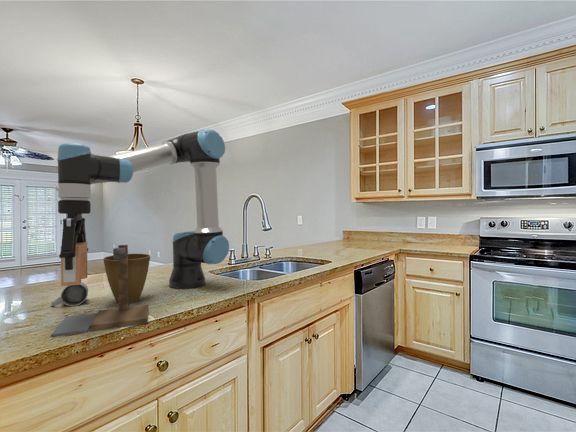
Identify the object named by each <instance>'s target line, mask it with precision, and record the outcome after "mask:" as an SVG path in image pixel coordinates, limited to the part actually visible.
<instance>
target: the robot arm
mask: <svg viewBox="0 0 576 432" xmlns="http://www.w3.org/2000/svg"><path fill="white" fill-rule="evenodd" d="M225 145H226V144H225V142H224V140H223V137H222V136H221V135H220V133H218V132H217V131H216V130H213V129H210V128H208V129H200V130H198V131H194V132H193V131H192V132H189V133H184V134H181V135H179V136H177V137H173V138H171V139H167V140H164V141H161V143H160V144H157V145H153V146H148V147H143V148H139V149H135V150H130V151H126V152H122V153H117V154H112V155H109V156H105V155H100V154H99V155H98V154H93V153H92V151H91V147H90V146H88V145H85V144H81V143H75V142H66V143H65V142H64V143H61V144H60V145H59V146H58V151H57V159H56V160H57V179H58V180H57V182H58V183H57V185H58V186H57V187H55V190H56V191H58V192H57V193H58V195H57V197H58V198H59V199H61V200H58V201H57V213H58V214H63V215H66V218H62V236H61V238H62V239H61V246H60V253H59V254H58V257H59V259H61V258H63V283H64V282H76V257H75V246H76V243H83V242H87V236H86V235H87V234H86V217H83V215H82V214H91V202H90V199H91V198H92V194H91V192H92V190H91V189H92V188H91V187H92V186H91V185H95V184H103V183H104V184H106V183H117V184H121V183H129V182H130V181H131V180H132V178H133V175H134V173H136V172H140V171H144V170H147V169H151V168H155V167H157V166H160V165H161V166H162V165H165V164H168V165H175V164H179V163H189V164H190V165H191V167H192V168H193V169H194V183H195V184H194V185H195V187H194V188H195V207H196V209H195V210H196V228H195V229H194V231H185V232H184V231H182V232H177V233H174V235H173V237H172V269H171V270H172V271H171V274H170V277H169V279H168V280H169V281H168V287H169V288H172V289H193V288H199V287H201V286H204V285H206V277H205V274H204V271H203V268H202V264H206V265H218V264H220V263H222V262H223V261H224V260H225V259H226V257H228V254H229V251H230V243H229V240H228V239H227V237H226V236H224V232H223V231H224V230H223V229H222V227H220V226H219V224H220V223H219V207H218V206H219V205H218V204H219V201H218V183H217V182H218V179H217V177H218V176H217V168H218V167H219V166H220V163H221V162H220V161H221V158H222V157H223V156H224V154H225V152H226V146H225ZM87 252H89V247H87Z"/></svg>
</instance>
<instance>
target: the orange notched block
mask: <svg viewBox="0 0 576 432" xmlns="http://www.w3.org/2000/svg"><path fill="white" fill-rule="evenodd" d="M87 248H88V241H86V242H83V243H76V246H75V257H76V282H64V283H63V258H60V286H61V287H66V286H70V285H79V284H81V282H82V280H85V279H87V278H88V251H87Z"/></svg>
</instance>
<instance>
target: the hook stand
mask: <svg viewBox="0 0 576 432" xmlns="http://www.w3.org/2000/svg"><path fill="white" fill-rule="evenodd" d="M128 248H129V244H120V245H119V244H118V247H115V248H112V249H113V251H112V253H113V255H112V256H113V259H118V268H119V303H118V307H117V308H109V309H106V308H105V309H99V310H98V311H97V312H96V313H97V314H96V316H95V318H94V319H93V321H92V323H91V325H90V329H89V331H90V332H93V331H95V332H96V331H102V330H110V329H115V328H116V329H117V328H125V327H131V326H138V325H146V324H147V325H148V322H149V321H148V319H149V304H145V305H135V306H129V303H128V254H129V251H128V250H129V249H128Z"/></svg>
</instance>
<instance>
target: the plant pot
mask: <svg viewBox="0 0 576 432" xmlns="http://www.w3.org/2000/svg"><path fill="white" fill-rule="evenodd" d="M102 260H103V264H104V270H105V275H106V278H107V281H108V285H109V287H110V290H111V292H112V295H113V297H114V300H115V301H116V303H117V304H119V268H118V259H113V255H108V256H105V257H103V259H102ZM150 260H151V255H150V254H147V253H128V304H130V303H135V302H137V301H139V300H140V299H141V296H142V293H143V290H144V287H145V284H146V280H147V277H148V271H149V267H150Z"/></svg>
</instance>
